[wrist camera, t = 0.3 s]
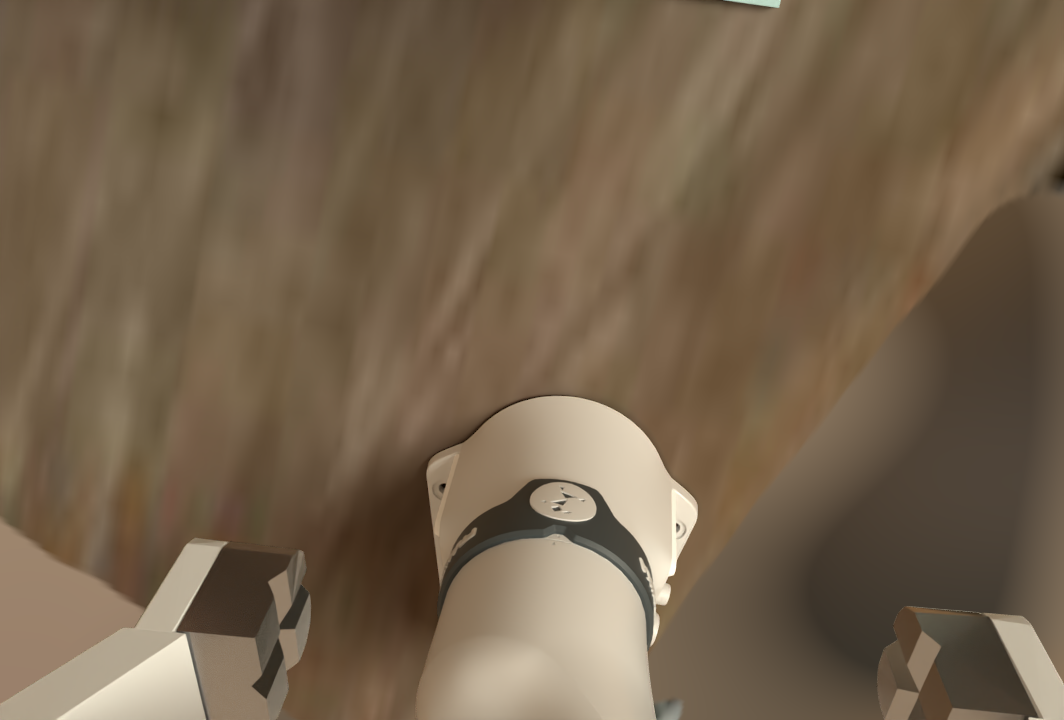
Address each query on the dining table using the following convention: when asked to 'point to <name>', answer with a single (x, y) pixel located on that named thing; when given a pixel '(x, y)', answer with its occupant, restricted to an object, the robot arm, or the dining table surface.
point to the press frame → (760, 2)
